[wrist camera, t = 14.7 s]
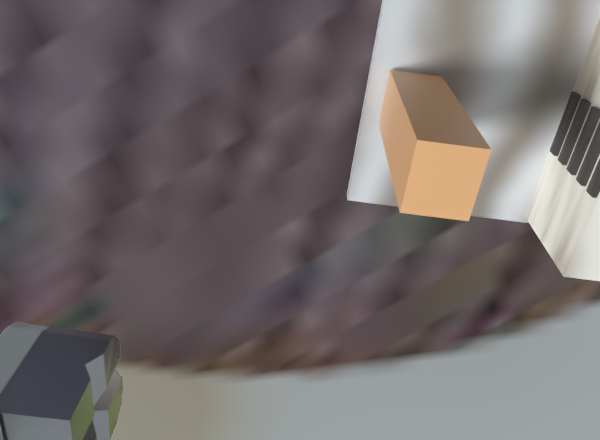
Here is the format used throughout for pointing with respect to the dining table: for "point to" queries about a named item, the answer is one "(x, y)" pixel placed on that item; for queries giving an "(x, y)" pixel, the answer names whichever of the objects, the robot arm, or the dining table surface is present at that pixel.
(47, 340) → the robot arm
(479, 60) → the block
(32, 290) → the dining table surface
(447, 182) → the tan rectangular block
